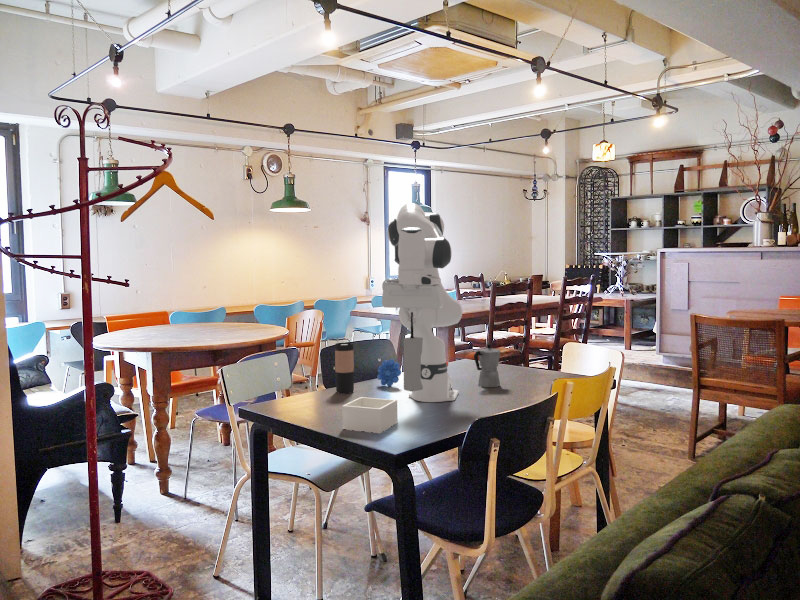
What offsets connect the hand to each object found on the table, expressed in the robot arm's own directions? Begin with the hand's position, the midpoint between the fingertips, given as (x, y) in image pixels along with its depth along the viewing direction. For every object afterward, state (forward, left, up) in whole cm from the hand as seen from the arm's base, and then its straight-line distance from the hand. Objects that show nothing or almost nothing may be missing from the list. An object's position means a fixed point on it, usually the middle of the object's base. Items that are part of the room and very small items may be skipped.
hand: (412, 322), depth 207 cm
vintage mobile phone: (+1, 0, -22) cm, 22 cm away
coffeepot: (-75, +4, -35) cm, 83 cm away
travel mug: (-44, -48, -35) cm, 74 cm away
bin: (+1, -15, -35) cm, 38 cm away
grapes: (-61, -35, -35) cm, 78 cm away
